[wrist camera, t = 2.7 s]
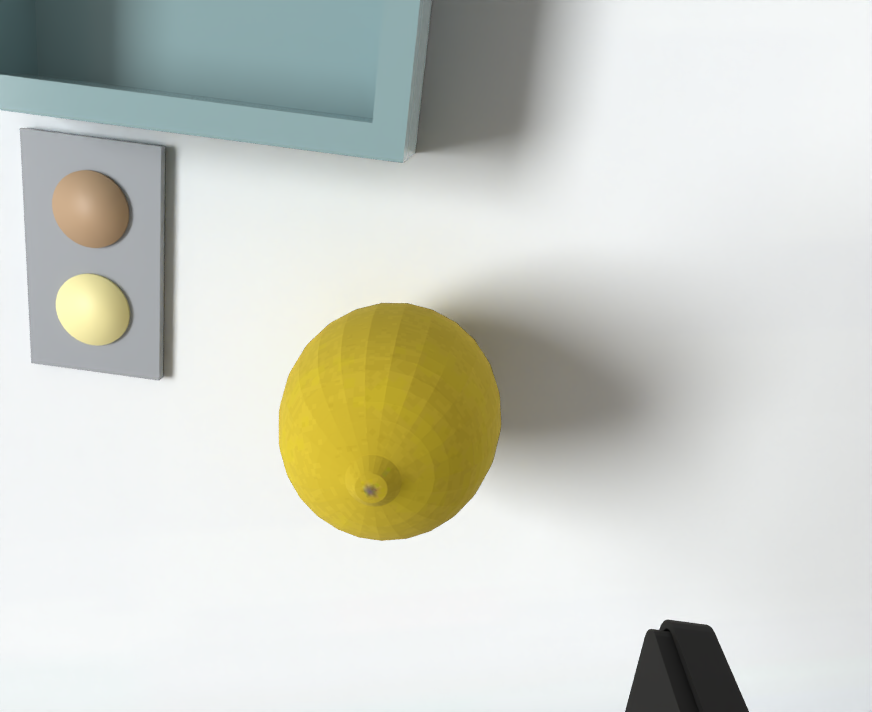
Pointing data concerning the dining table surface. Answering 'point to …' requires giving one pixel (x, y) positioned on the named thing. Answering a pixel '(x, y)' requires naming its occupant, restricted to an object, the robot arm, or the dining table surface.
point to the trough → (225, 68)
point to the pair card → (94, 252)
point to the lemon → (389, 421)
